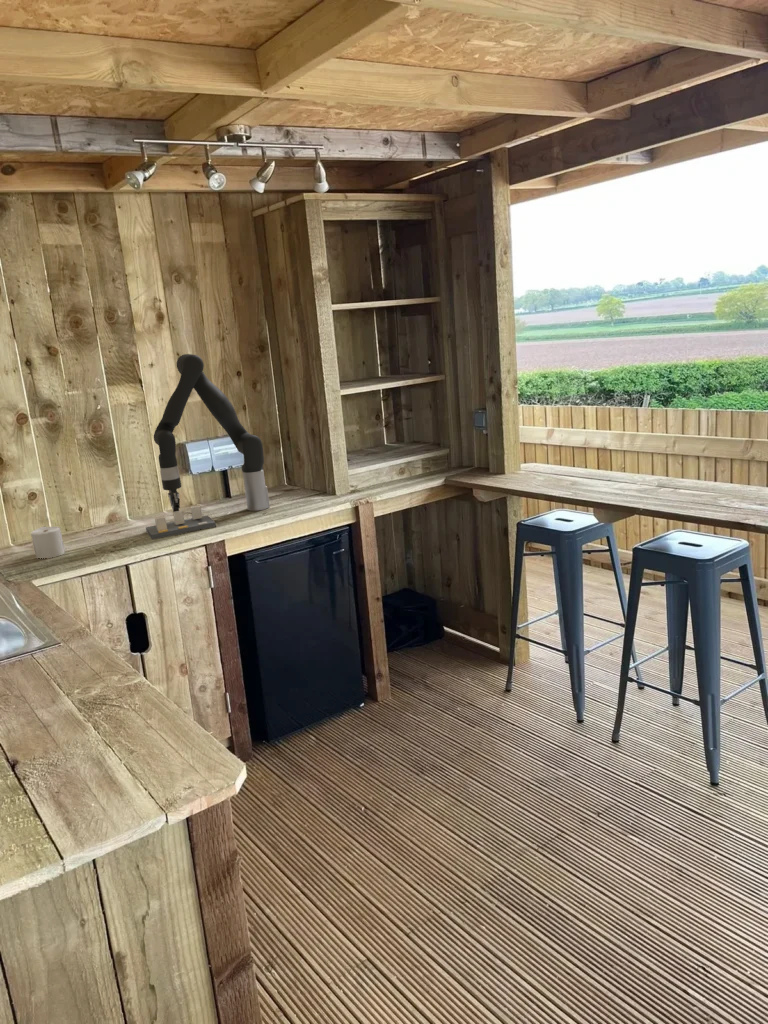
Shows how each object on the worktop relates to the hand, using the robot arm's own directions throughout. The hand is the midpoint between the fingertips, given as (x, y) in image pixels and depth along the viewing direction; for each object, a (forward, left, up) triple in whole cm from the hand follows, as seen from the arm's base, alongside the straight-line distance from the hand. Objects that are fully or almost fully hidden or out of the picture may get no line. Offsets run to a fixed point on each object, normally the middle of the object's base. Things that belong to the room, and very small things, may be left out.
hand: (177, 517), depth 327 cm
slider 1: (+8, +8, -2) cm, 12 cm away
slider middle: (0, +4, -2) cm, 4 cm away
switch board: (0, +5, -4) cm, 6 cm away
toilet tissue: (+51, +4, -4) cm, 51 cm away
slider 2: (-8, +1, -2) cm, 8 cm away
